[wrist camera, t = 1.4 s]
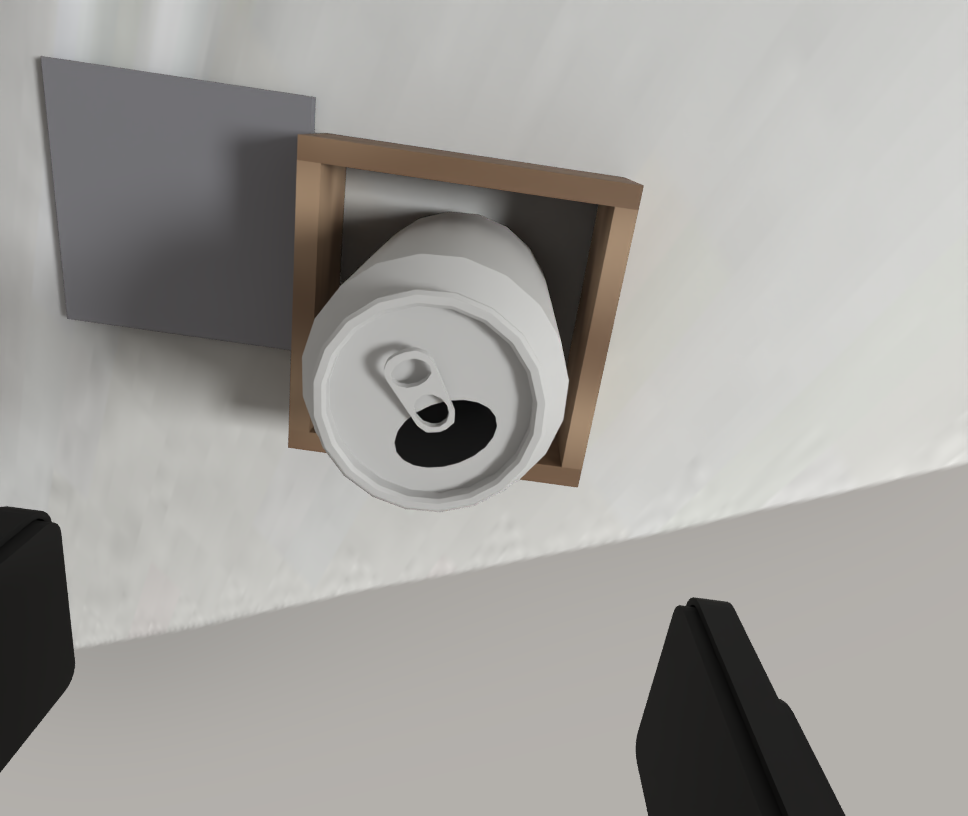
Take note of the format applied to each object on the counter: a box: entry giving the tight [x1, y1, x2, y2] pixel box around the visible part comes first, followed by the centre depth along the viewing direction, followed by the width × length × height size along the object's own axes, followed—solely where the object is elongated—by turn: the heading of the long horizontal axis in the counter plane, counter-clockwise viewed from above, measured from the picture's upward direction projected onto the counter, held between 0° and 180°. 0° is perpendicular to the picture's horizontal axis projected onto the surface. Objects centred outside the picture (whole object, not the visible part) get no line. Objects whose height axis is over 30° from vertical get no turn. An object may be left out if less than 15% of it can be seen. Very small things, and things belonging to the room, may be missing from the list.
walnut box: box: [288, 133, 644, 487], centre depth 27 cm, size 12×12×4 cm
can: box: [302, 212, 569, 512], centre depth 23 cm, size 8×8×12 cm
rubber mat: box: [41, 56, 316, 350], centre depth 27 cm, size 10×10×1 cm
